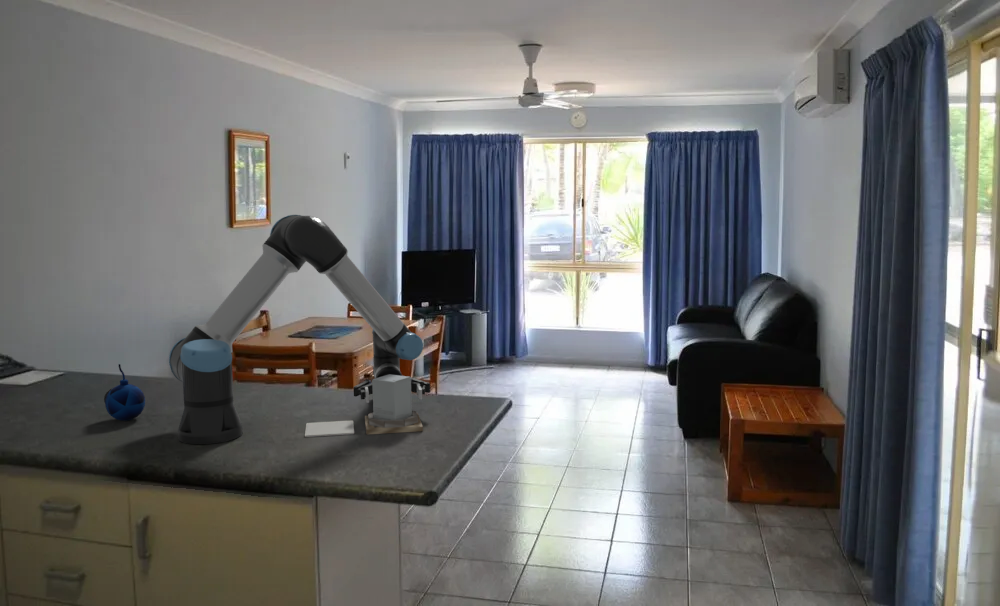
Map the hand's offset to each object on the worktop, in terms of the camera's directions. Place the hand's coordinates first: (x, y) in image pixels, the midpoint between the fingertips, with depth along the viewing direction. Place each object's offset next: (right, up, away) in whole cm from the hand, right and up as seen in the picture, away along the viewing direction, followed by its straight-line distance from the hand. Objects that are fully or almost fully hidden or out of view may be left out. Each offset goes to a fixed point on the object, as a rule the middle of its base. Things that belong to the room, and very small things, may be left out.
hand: (394, 396), depth 220 cm
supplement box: (0, -8, +1) cm, 8 cm away
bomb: (-73, -8, +10) cm, 74 cm away
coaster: (-16, -8, -2) cm, 18 cm away
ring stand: (0, -8, +1) cm, 8 cm away
